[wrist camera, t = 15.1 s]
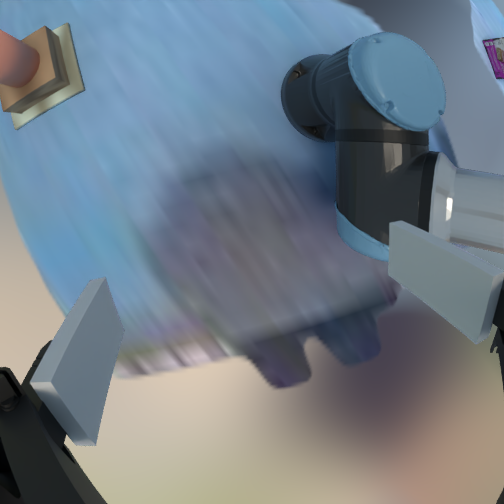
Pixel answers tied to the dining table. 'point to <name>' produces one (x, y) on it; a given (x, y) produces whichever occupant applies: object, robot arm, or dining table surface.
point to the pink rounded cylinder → (16, 61)
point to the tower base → (45, 77)
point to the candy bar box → (496, 55)
